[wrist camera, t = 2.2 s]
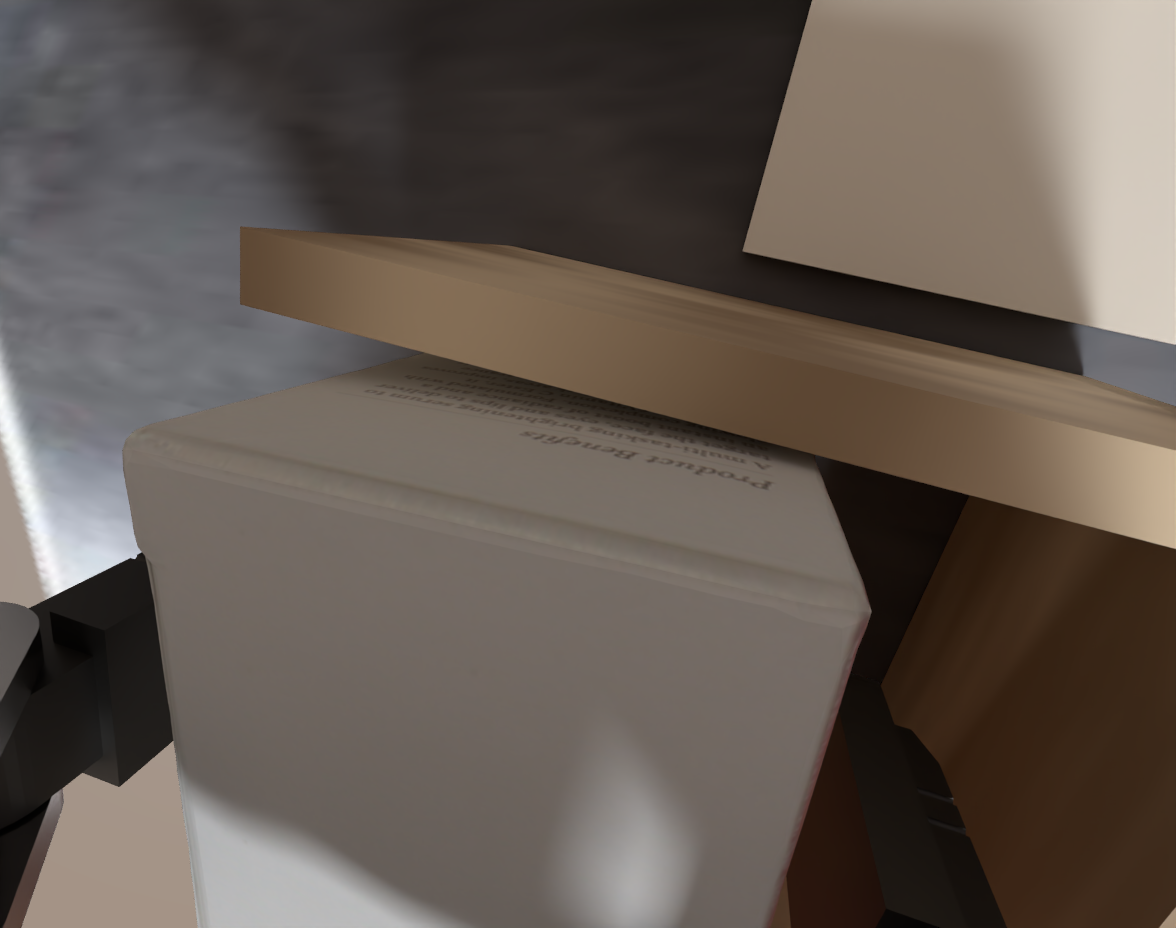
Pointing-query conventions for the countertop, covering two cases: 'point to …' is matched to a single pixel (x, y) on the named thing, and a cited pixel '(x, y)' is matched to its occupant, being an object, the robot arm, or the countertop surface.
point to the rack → (898, 447)
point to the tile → (985, 155)
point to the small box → (489, 653)
